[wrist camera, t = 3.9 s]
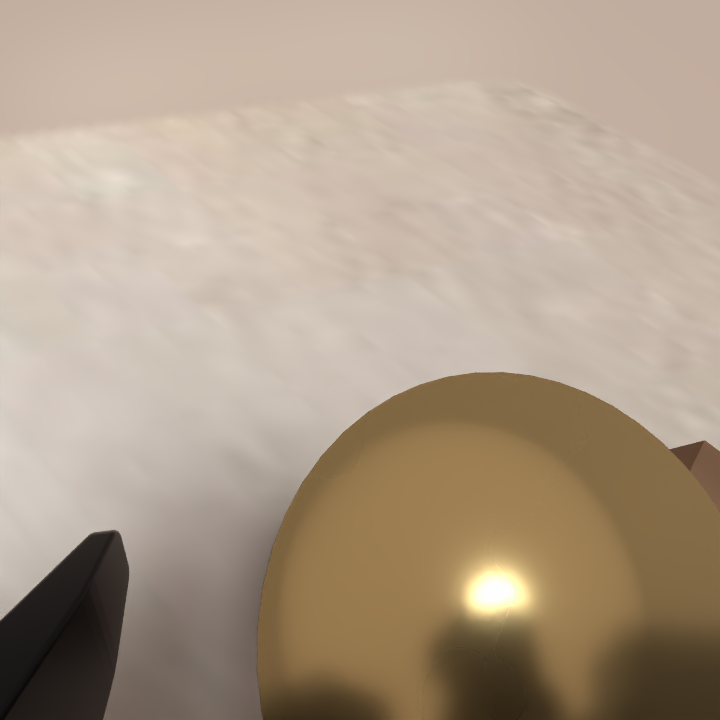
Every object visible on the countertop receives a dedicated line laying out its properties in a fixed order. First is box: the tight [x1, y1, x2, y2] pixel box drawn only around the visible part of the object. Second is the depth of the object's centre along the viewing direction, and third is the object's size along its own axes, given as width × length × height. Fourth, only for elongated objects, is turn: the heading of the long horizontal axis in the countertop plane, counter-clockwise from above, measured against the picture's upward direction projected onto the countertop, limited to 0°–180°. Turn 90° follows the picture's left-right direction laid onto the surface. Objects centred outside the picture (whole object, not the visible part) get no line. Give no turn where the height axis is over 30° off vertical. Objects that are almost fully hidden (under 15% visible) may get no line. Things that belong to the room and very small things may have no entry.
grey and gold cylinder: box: [257, 372, 720, 720], centre depth 10 cm, size 4×4×13 cm
